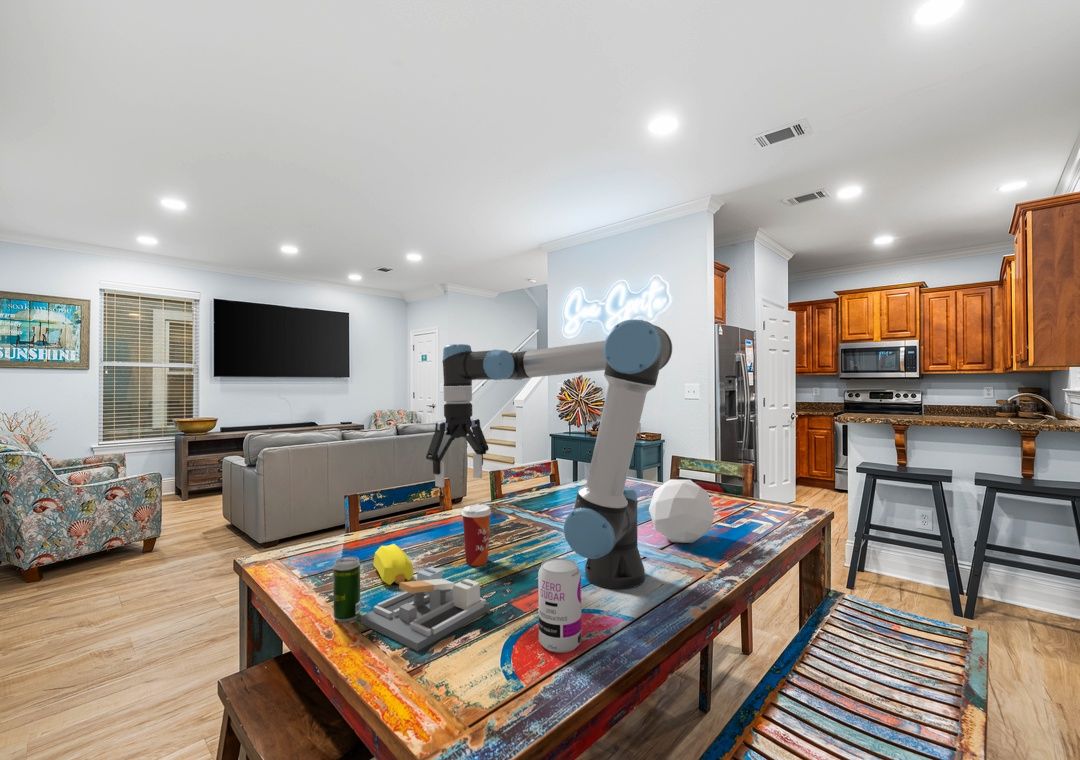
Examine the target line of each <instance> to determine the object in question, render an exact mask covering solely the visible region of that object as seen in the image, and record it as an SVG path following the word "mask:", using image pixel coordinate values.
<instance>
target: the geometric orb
mask: <svg viewBox="0 0 1080 760" xmlns="http://www.w3.org/2000/svg"><path fill="white" fill-rule="evenodd" d="M709 495H710V494H709V493H708V491H706V490H705V489H704V488H703V487H701V486H700V485H698V484H697V483H696V482H693V481H692V479H673V478H671V479H669V480H667V481H666V482H664V484H662V485H660V486H659V487H657V488H656V489H655V490H654V492H653V495H652V497H651V501H650V505H649V507H648V512H649V514H650V518H651V521H652V524H653V526H654V530H655V531H657V532H658V533H660V534H661V535H662V536H663V537H665V538H666V539H667V540H669V541H670V542H671V543H685V544H686V543H689V544H693V543H694V542H696V541H697V540H699V539H700V538H702V537H703V536H705V535H706V534H707V533H709V532H710V530H711V528H712V525H713V524H714V518H715V509H714V507H713V503H712V501H711V498H710V496H709Z"/></svg>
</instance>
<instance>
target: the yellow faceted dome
mask: <svg viewBox="0 0 1080 760" xmlns="http://www.w3.org/2000/svg"><path fill="white" fill-rule="evenodd" d="M412 562H413V561H411V560H410V558H409V556H408V555H407V553H406V552H405V551H404V550H403V549H402V548H401V547H399V546H398V545H397V544H395V543H392V544H389V545H380V546H379V548H378V549H377V550H376V551H375V552H374V558H373V563H372V565H373V566H374V567H375V569H376V570H377V572H378V574H379V576H380V579H381V580H382V582H384V583H385V584H387V586H391V585H392V584H393V583H395V584H397V585H399V584H400V582H410V580H411V579H412V578H413V576H414V574H415V572H414V569H413V563H412Z"/></svg>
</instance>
